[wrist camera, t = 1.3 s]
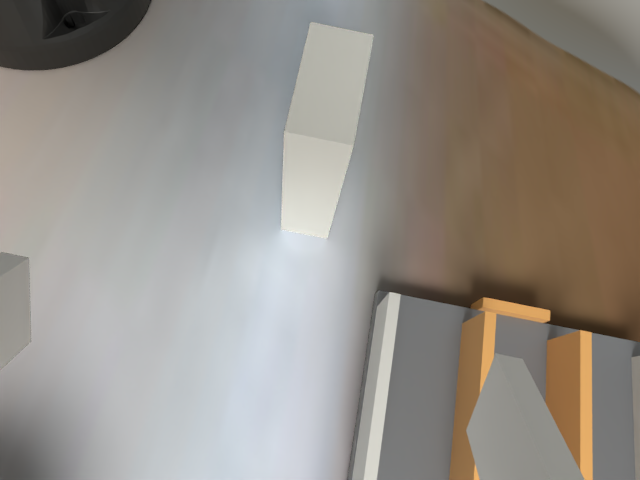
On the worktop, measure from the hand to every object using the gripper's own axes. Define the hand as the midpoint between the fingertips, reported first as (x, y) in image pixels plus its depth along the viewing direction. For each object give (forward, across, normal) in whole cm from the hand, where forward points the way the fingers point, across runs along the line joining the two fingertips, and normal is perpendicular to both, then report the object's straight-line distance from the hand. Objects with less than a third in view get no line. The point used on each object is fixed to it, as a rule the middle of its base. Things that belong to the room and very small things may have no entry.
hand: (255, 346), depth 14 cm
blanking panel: (+20, 0, -1) cm, 20 cm away
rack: (+12, +13, -10) cm, 20 cm away
